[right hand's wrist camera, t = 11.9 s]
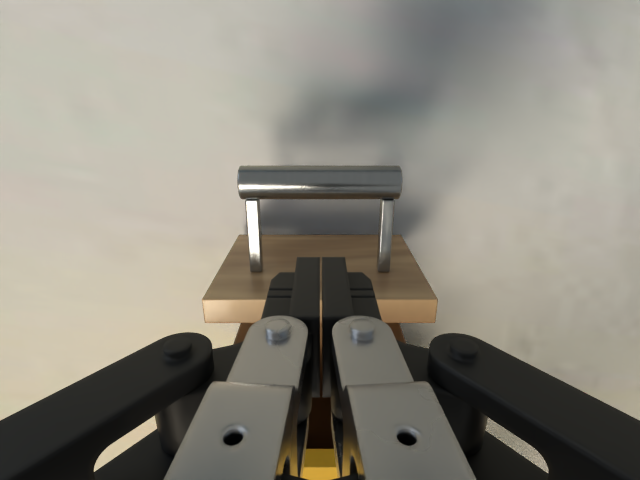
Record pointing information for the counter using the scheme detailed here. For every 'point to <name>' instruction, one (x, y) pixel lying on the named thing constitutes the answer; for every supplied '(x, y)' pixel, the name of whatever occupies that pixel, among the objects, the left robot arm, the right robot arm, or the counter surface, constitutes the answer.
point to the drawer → (282, 251)
